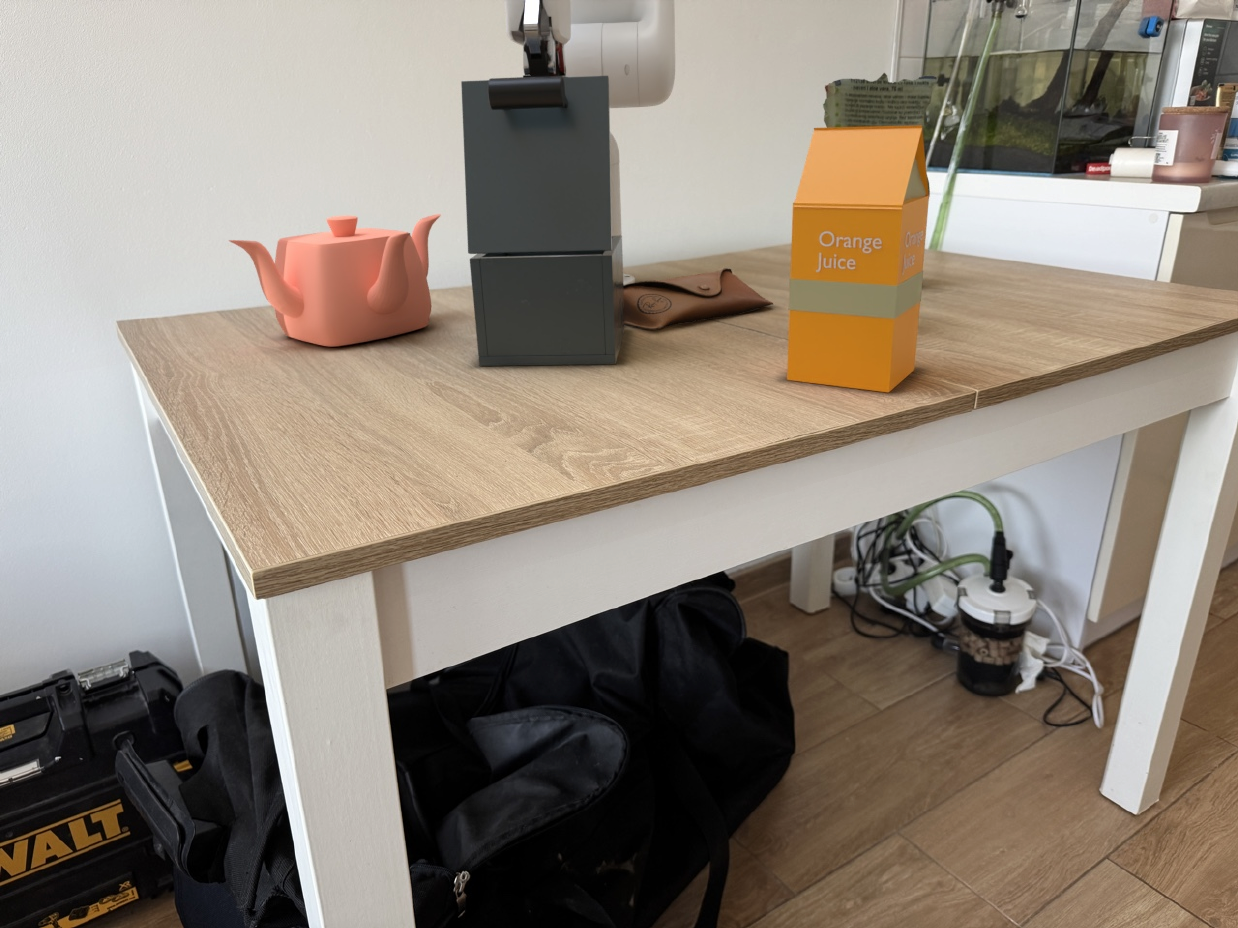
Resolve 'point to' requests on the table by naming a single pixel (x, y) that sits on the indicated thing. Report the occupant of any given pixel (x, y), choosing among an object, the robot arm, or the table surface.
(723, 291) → the sunglasses case
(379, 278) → the pot
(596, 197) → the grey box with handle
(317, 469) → the table surface
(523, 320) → the dark box
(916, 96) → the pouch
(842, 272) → the orange juice
